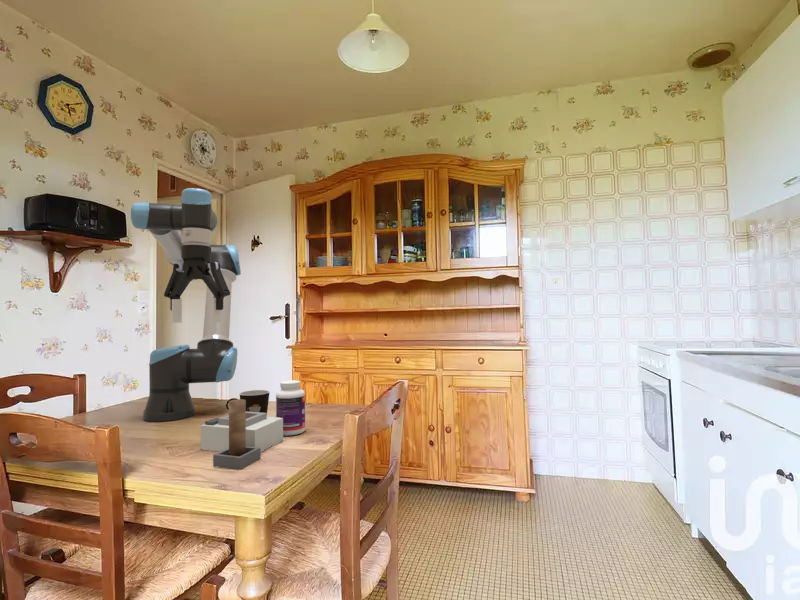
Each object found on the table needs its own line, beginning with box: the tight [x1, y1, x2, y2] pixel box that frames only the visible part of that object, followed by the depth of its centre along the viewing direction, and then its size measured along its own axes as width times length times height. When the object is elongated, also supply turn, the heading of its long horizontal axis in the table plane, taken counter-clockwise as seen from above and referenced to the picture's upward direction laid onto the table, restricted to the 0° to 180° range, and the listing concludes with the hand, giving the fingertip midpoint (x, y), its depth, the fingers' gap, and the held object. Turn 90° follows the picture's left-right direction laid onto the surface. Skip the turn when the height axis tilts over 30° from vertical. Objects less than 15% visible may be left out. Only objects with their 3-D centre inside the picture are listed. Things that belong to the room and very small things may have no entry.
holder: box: [212, 446, 261, 471], centre depth 96 cm, size 7×7×2 cm
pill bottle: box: [275, 379, 306, 437], centre depth 119 cm, size 8×8×14 cm
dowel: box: [228, 398, 246, 456], centre depth 96 cm, size 4×4×14 cm
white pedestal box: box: [200, 411, 284, 453], centre depth 108 cm, size 16×12×8 cm
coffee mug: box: [225, 389, 270, 414], centre depth 127 cm, size 12×9×10 cm
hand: (196, 322), depth 115 cm, fingers open, 13 cm apart
